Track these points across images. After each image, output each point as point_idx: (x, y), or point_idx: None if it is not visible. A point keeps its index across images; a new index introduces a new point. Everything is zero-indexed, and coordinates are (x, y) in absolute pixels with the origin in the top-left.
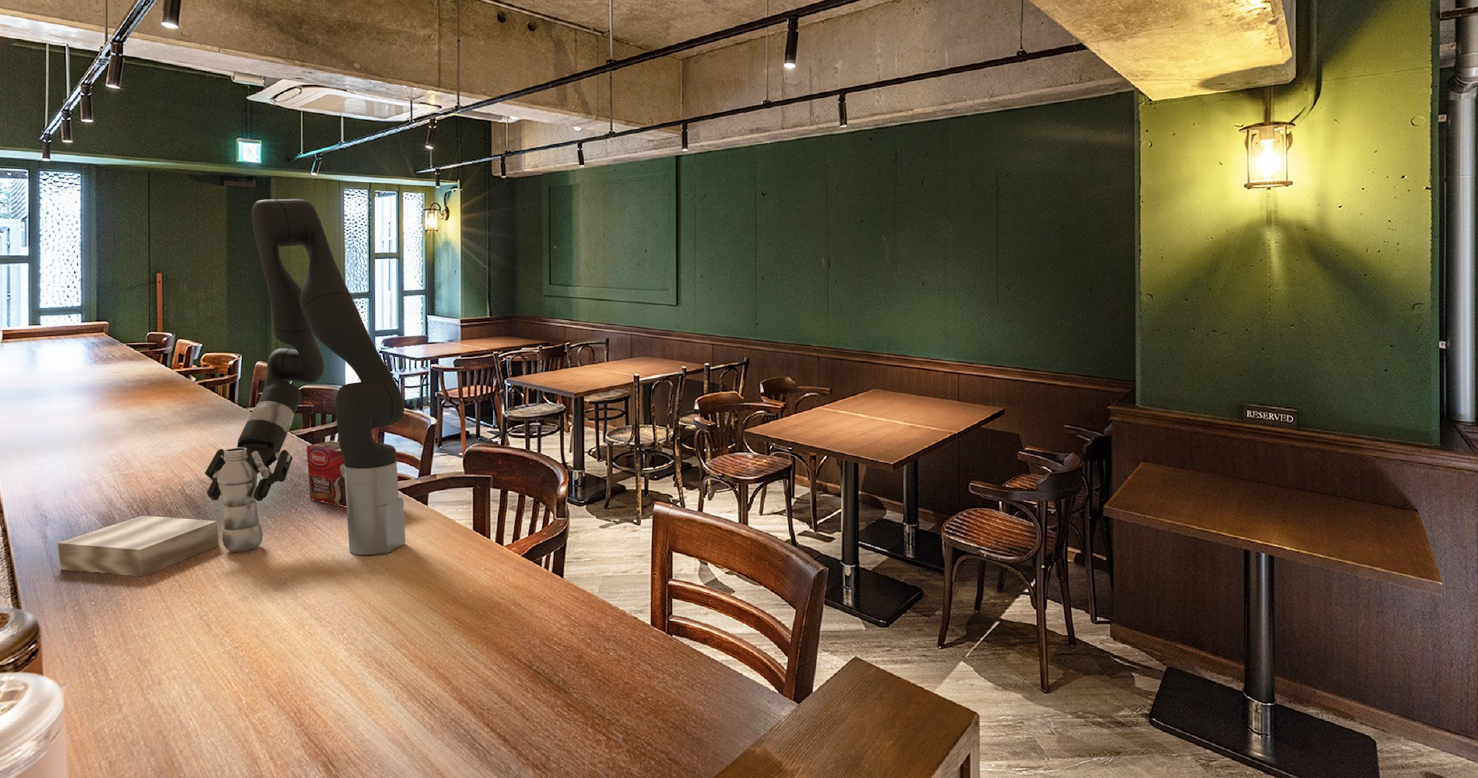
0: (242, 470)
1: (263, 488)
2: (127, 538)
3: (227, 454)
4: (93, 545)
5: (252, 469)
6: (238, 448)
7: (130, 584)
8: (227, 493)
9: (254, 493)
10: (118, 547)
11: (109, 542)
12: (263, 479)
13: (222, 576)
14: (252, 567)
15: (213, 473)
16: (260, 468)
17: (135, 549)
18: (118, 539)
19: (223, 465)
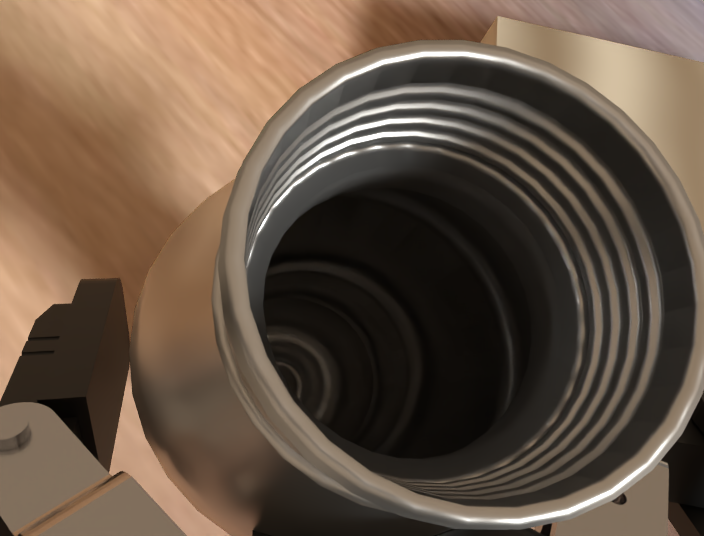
0: (210, 223)
1: (40, 346)
2: (667, 148)
3: (477, 75)
4: None
5: (156, 375)
6: (576, 494)
7: (436, 24)
8: (327, 221)
9: (110, 286)
10: (601, 43)
11: (688, 99)
12: (39, 397)
13: (155, 83)
14: (86, 175)
15: (693, 433)
16: (93, 490)
17: (518, 21)
18: (689, 135)
19: (661, 463)
